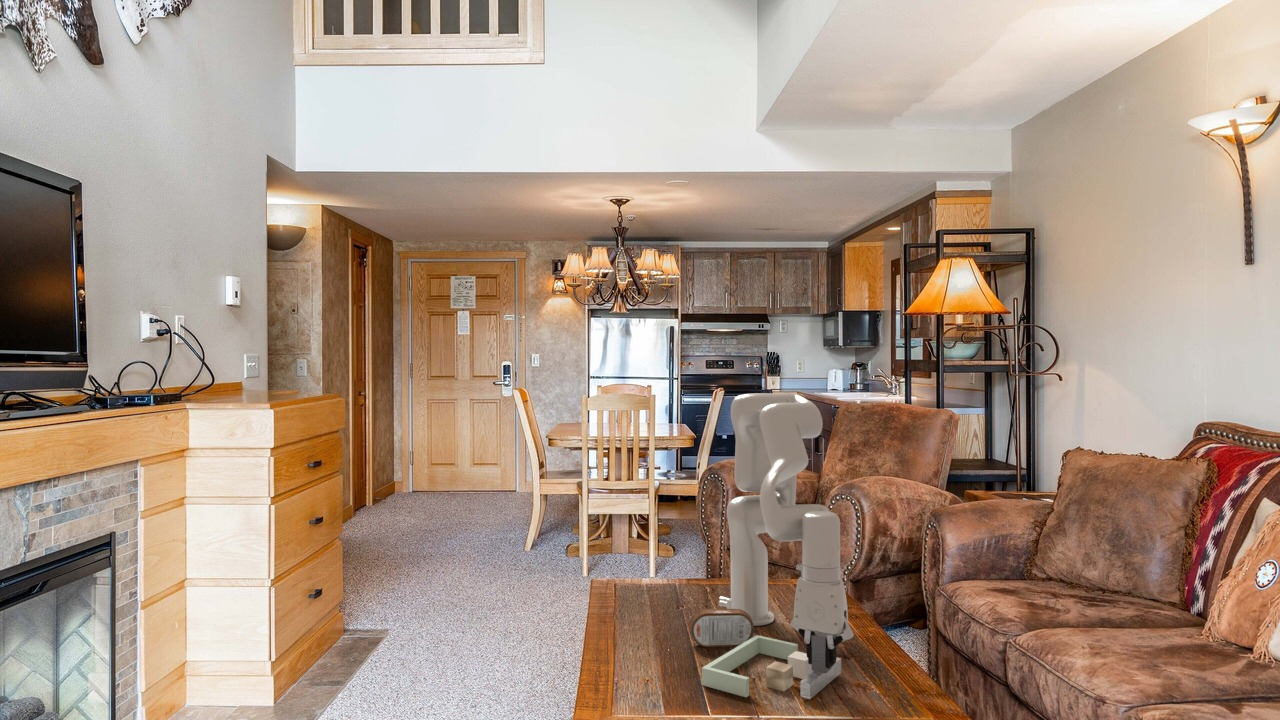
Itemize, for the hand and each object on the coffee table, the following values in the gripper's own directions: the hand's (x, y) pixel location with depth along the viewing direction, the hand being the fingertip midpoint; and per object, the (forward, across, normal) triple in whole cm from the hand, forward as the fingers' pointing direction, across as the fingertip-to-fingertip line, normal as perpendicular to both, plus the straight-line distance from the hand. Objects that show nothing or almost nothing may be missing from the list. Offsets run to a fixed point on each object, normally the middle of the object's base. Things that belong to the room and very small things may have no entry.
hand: (821, 663), depth 156 cm
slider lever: (+4, 0, 0) cm, 4 cm away
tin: (+5, -28, +9) cm, 30 cm away
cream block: (+5, -6, +4) cm, 9 cm away
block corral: (+5, -14, -1) cm, 15 cm away
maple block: (+5, -7, -4) cm, 10 cm away
